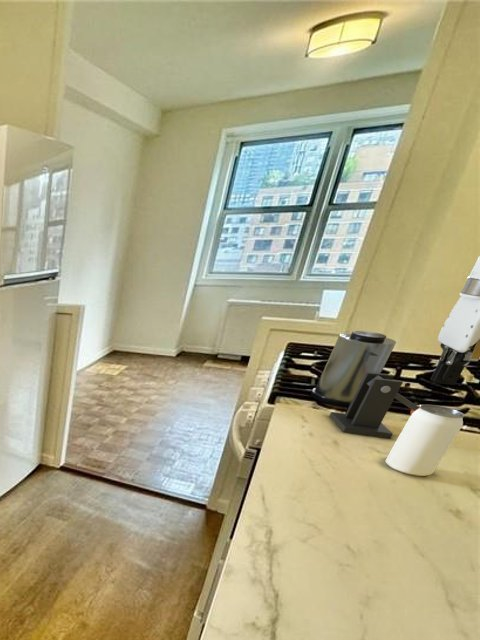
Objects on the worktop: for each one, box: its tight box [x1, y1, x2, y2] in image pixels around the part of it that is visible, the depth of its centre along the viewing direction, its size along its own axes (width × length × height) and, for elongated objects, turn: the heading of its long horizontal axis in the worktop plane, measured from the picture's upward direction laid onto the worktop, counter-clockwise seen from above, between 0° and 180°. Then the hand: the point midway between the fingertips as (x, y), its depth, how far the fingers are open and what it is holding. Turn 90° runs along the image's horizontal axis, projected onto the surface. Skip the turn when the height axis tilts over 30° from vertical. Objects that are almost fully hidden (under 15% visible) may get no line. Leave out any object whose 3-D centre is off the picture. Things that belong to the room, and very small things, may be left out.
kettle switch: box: [367, 375, 422, 416], centre depth 102 cm, size 13×3×3 cm
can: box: [385, 404, 466, 477], centre depth 89 cm, size 6×6×12 cm
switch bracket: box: [328, 372, 404, 439], centre depth 105 cm, size 8×9×12 cm
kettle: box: [309, 330, 397, 409], centre depth 117 cm, size 11×14×17 cm
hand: (442, 382), depth 98 cm, fingers closed
